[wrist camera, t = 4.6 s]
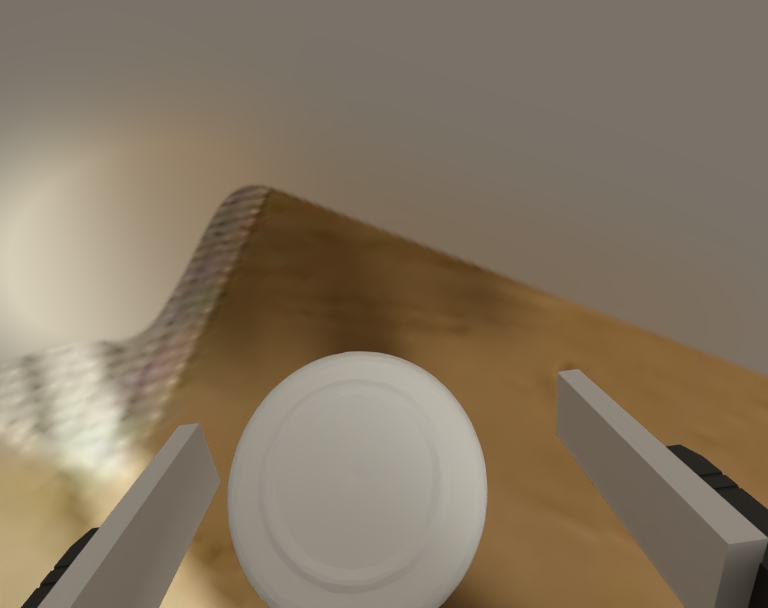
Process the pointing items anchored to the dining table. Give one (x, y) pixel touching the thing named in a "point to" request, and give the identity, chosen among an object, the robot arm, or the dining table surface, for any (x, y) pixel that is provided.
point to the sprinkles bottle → (357, 488)
